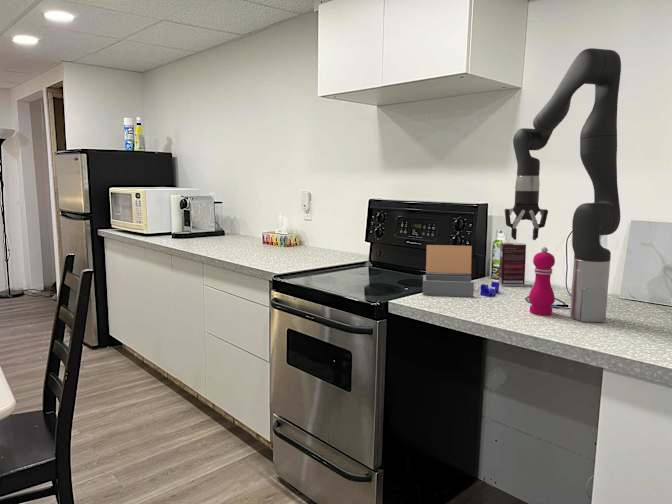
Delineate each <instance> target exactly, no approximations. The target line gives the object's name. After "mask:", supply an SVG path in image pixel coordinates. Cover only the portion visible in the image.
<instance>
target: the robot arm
mask: <svg viewBox="0 0 672 504" xmlns="http://www.w3.org/2000/svg"><path fill="white" fill-rule="evenodd" d="M621 72H622V60H621V56H620V54H619V53H618V52H617V51H616V50H613V49H608V48H607V49H604V48H593V47H591V48H585V49H583V50H582V51H580V52H579V54H578V55H577V56H576V57H575V58H574V60H573V61H572V63H571V65H570V66H569V67H568V69H567V71H566V73H565V74H564V76H563V77H562V80H561V81H560V83H559V85H558V86H557V88H556V89H555V91H554V93H553V94H552V96H551V98H550V99H549V100H548V101H547V103H545V104H544V106H543V107H542V109H540V111H539V112H538V113H537V114H536V115H535V117H534V118H533V120H532V126H533V128H526V127H525V128H523V127H522V128H519V129H517V130H516V131H515V133H514V135H513V139H512V145H513V151H514V154H515V159H516V163H517V167H516V168H517V169H516V179H515V186H514V189H515V190H514V205H513V207H512V208H505V209H504V216H505V217H504V218H505V219H504V220H505V225H506V226H507V227H509V228H511V232H510V236H511V239H513V240H514V241H516V240H517V227H518V225H519V223H520V222H521V221H524V220H527V221H530V222H531V223H532V226H533V229H532V241H536V240H537V239H538V238H539V230H540V229H541V228H544V227H545V226H546V223H547V218H548V213H549V210H548V209H547V208H540V206H539V201H540V200H539V199H540V181H541V180H540V169H541V161H540V159H538V158H537V157H534V156H532V155H531V153H530V151H540V150H541V149H543V148H544V147H546V146H547V144H548V143H549V140H550V137H551V136H552V134H553V131H554V130H555V129H556V128H557V127H558V126H559V125H560V123H562V121H563V120H564V119H565V118H566V117H567V115H568V113H569V111H570V107H571V101H572V97H573V96H574V94H575V92H576V91H578V90H579V89H580V88H581V87H582V86H583V85H584V84H585V85H594V92H595V93H594V103H593V107H592V110H591V111H590V113H589V114H588V117H587V118H586V120H585V121H584V124H583V126H582V128H581V131H580V138H579V156H580V159H581V163H582V165H583V167H584V169H585V171H586V172H587V174H588V177H589V178H590V180H591V183H592V186H593V187H592V188H593V195H594V197H593V199H594V201H593V202H586V203H585V202H584V203H581V204H579V206H577V207H576V209H575V210H574V212H573V217H572V223H571V224H572V226H571V227H572V231H571V232H572V233H571V235H572V236H571V237H572V238H571V246H572V250H573V252H574V253H573V271H572V283H571V294H570V295H571V296H570V297H571V298H570V309H569V310H570V311H569V312H570V313H569V317H571V318H572V319H575V320H577V321H580V322H586V323H605V322H606V319H607V304H608V294H609V293H608V291H609V278H610V270H611V269H610V267H611V257H612V256H611V250H610V249H608V248H605V246H602V245H601V237H600V236H608V235H612V234H614V233H615V232H616V231H617V230H618V228H619V227H620V223H621V207H620V206H621V205H620V204H621V203H620V197H619V188H618V166H617V165H618V161H617V160H618V159H617V157H618V102H619V91H620V83H621V82H620V81H621V75H622V74H621ZM512 213H514V215H515V218H514V220H513V222H511V216H512ZM537 214H540V216H541V217H540V221H539V223H538V220H537V218H536V216H537Z"/></svg>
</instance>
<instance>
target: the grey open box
mask: <svg viewBox="0 0 672 504" xmlns="http://www.w3.org/2000/svg"><path fill="white" fill-rule="evenodd" d="M474 288H475V282H474V281H472V275H471V276H458V275H427V274H423V275H422V296H434V297H435V296H439V297H463V298H467V297H469V298H474V291H475V289H474Z"/></svg>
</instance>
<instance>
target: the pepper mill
mask: <svg viewBox="0 0 672 504" xmlns="http://www.w3.org/2000/svg"><path fill="white" fill-rule="evenodd" d="M540 250H541V252H537V253H536V254H535V255H534V256H533V259H532V263H533V265H534V266H535V267H534V268H533V269H534V271H533V272H534V273H535V280H534V283H533V285H532V288H531V290H530V291H529V294H528V301H529V303H530V304H531V305H529V313H531V314H533V315H537V316H551V315H552V314H553V307H551V306H552V305H554V303H555V300H556V299H555V297H556V296H555V293H554V291H553V288H552V283H551V275H553V269H552V268H553V266H555V264H556V259H555V256H554V255H553V254H552V253H549V252H548V251H549V248H547V247H546V246H543V247H542V248H541V249H540Z"/></svg>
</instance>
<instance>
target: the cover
mask: <svg viewBox="0 0 672 504" xmlns="http://www.w3.org/2000/svg"><path fill="white" fill-rule="evenodd" d="M472 249H473V248H472V245H455V244H454V245H445V244H426V251H425V252H426V261H425V275H441V276H471V277H472V251H473V250H472Z"/></svg>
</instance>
